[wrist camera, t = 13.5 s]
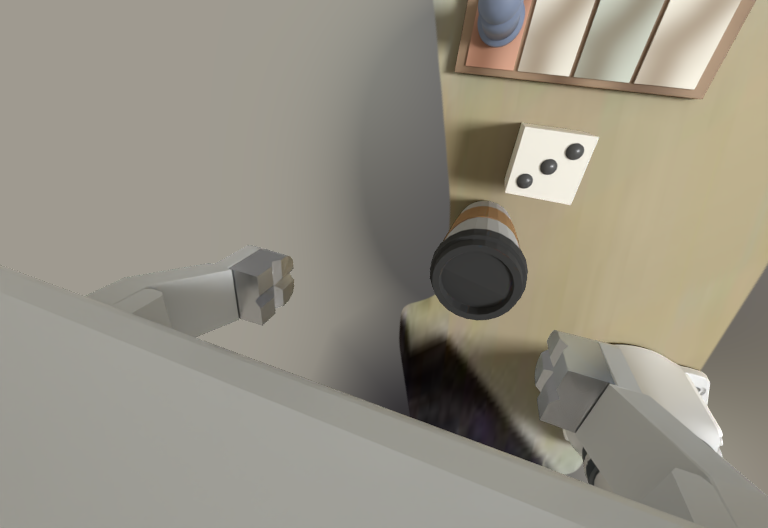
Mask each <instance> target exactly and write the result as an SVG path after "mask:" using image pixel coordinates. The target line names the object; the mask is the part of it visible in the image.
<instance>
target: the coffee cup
mask: <svg viewBox="0 0 768 528" xmlns="http://www.w3.org/2000/svg"><path fill="white" fill-rule="evenodd" d="M527 273H528V270H527V264H526V259H525V257H524V255H523V253H522V251H521V249H520V246H519V241H518V238H517V235H516V232H515V229H514V226H513V224H512V222H511V219H510V216H509V214H508V212H507V211H506V210H505V209H504V208H503V207H502V206H500V205H499V204H497V203H494V202H491V201H479V202H475V203H473V204H471V205H468V206H467V207H466V208H465V209H464V210H463V211H462V212H461V214H460V215H459V216H458V218H457V219H456V221H455V222H454V224H453V225H452V227H451V229H450V230H449V232H448V234H447V235H446V237H445V238H444V240H443V242H442V243H441V244H440V246H439V247H438V249H437V250H436V251H435V253H434V256H433V259H432V262H431V268H430V279H431V283H432V287H433V289H434V292H435V295H436V296H437V298H438V299H439V301H440V303H441V304H442V305H443V306H444V307H446V308H447V309H448V310H449V311H451V312H452V313H454V314H456V315H458V316H461V317H463V318H466V319H472V320H489V319H492V318H496V317H499V316H501V315H503V314H504V313H506V312H508V311H509V310H510V309H511V308H512V307H513V306H514V305H515V304H516V303H517V301H518V300H519V299H520V298H521V296H522V294H523V292H524V290H525V287H526V281H527Z"/></svg>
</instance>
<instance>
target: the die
mask: <svg viewBox="0 0 768 528" xmlns="http://www.w3.org/2000/svg"><path fill="white" fill-rule="evenodd" d="M598 139H599V137H597V136H595V135H592V134H589V133H587V132H584V131H578V130H571V129H564V128H557V127H550V126H542V125H535V124H528V123H521V126H520V129H519V133H518V136H517V139H516V143H515V146H514V149H513V153H512V156H511V159H510V163H509V166H508V169H507V173H506V176H505V179H504V180H505V193H510V194H515V195H521V196H526V197H531V198H536V199H542V200H547V201H552V202H558V203H563V204H568V205H571V203H572V201H573V198H574V196H575V194H576V191H577V189H578V187H579V184H580V182H581V179H582V177H583V175H584V172H585V170H586V168H587V165H588V163H589V160H590V158H591V156H592V153H593V151H594V149H595V146H596V144H597V141H598Z"/></svg>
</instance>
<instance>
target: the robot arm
mask: <svg viewBox="0 0 768 528" xmlns="http://www.w3.org/2000/svg"><path fill="white" fill-rule="evenodd" d="M292 269H293V260H292V258H291V257H290V256H287V255H284V254H280V253H277V252H273V251H270V250H267V249H263V248H260V247H256V246H252V245H247V246H246V247H244V248H242V249H240V250H238V251H237V252H235V253H233V254H231V255H229V256H228V257H226V258H224V259H222V260H220V261H219V262H217V263H215V264H211V263H208V264H201V265H196V266H190V267H184V268H178V269H172V270H167V271H162V272H155V273H149V274H143V275H138V276H132V277H127V278H123V279H120V280H118V281H116V282H114V283H112V284H110V285H108V286H105V287H103V288H101V289H99V290H97V291H95V292H93V293H90V294H88V295H86V296H83V295H80V294H77V293H75V292H72V291H69V290H66V289H64V288H61V287H58V286H56V285H53V284H50V283H47V282H45V281H42V280H40V279H37V278H34V277H32V276H29V275H26V274H24V273H21V272H18V271H15V270H13V269H10V268H7V267H5V266H2V265H0V528H768V496H767V495H766V494H765V493H763V492H762V491H761V490H760V489H759V488H757V487H756V486H755V485H754V484H753V483H751V481H749V480H748V479H747V478H746V477H745V476H743V475H742V474H741V473H740V472H739V471H738V470H736V469H735V468H734V467H733V466H732V465H731V464H729V463H728V462H727V461H726V460H724V459H723V457H722V453H721V450H720V448H719V446H722V445H723V440H722V438H721V437H722V436H723V434H722V431H721V429H720V427H719V425H718V424H717V422H716V420H715V419H714V417H713V415H712V414H711V412H710V410H709V409H708V407H707V403H708V395H709V388H710V382H709V380H708V378H707V376H706V375H705V374H704V373H702V372H701V371H698V370H695V369H692V368H688V367H684V366H680V365H677V364H675V363H674V362H672V361H670V360H669V359H667V358H666V357H664V356H662V355H661V354H658V353H656V352H654V351H651V350H649V349H645V348H642V347H637V346H631V345H613V344H609V343H605V342H600V341H596V340H591V339H588V338H584V337H580V336H576V335H572V334H568V333H564V332H560V331H556V330H554V331H553V332H552V333H551V334H550V336H549V338H548V340H547V343H548V350H546V351H544V352H542V353H541V354H540V357H539V359H538V361H537V365H536V369H535V386H536V387H537V388H538V390H539V391H540V394H539V396H538V398H537V403H538V411H539V419H540V420H541V421H544V422H546V423H549V424H552V425H555V426H557V427H560V428H562V429H563V433H564V437H565V439H566V440H567V441H569V442H570V443H571V445H572V447H573V448H574V449H575V450H576V451H577V452H578V453H579V455H580V456H581V457H582V459H583V463H584V471H585V475H586V478H587V480H588V483H589V484H588V483H585V482H582V481H580V480H577V479H575V478H572V477H569V476H567V475H564V474H561V473H558V472H556V471H553V470H550V469H548V468H545V467H542V466H540V465H537V464H534V463H532V462H529V461H526V460H524V459H521V458H518V457H515V456H513V455H510V454H507V453H505V452H502V451H499V450H497V449H494V448H491V447H489V446H486V445H483V444H481V443H478V442H475V441H472V440H470V439H467V438H464V437H462V436H459V435H456V434H454V433H451V432H448V431H446V430H443V429H440V428H438V427H435V426H432V425H429V424H427V423H424V422H421V421H419V420H416V419H413V418H411V417H408V416H405V415H403V414H400V413H397V412H395V411H391V410H389V409H386V408H384V407H381V406H378V405H376V404H373V403H370V402H368V401H365V400H362V399H360V398H357V397H354V396H351V395H349V394H346V393H344V392H341V391H338V390H335V389H333V388H330V387H328V386H325V385H322V384H319V383H317V382H314V381H311V380H309V379H306V378H303V377H301V376H298V375H295V374H293V373H290V372H287V371H284V370H282V369H279V368H276V367H274V366H271V365H268V364H265V363H263V362H260V361H257V360H255V359H252V358H249V357H246V356H244V355H241V354H238V353H236V352H233V351H230V350H227V349H225V348H222V347H219V346H217V345H214V344H211V343H209V342H206V341H203V340H201V339H198V338H196V337H198V336H200V335H203V334H205V333H208V332H210V331H212V330H215V329H217V328H220V327H222V326H225V325H227V324H230V323H232V322H234V321H237V320H239V318H240V319H243V320H246V321H250V322H253V323H256V324H259V325H263V324H264V323H265V322H267V321H268V320H269V319H270V318H271V317H272V316H273V315H274V314H275V308H277V307H281V306H284V305H285V304H286V303H287V302H288V301H289V299H290V297H291V295H292V293H293V289H294V279H293V278H292V276H291V275H290V272H291V271H292Z"/></svg>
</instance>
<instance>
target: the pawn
mask: <svg viewBox="0 0 768 528" xmlns="http://www.w3.org/2000/svg"><path fill="white" fill-rule="evenodd" d="M523 2H524V0H478V13H479V16H478V22H477V26H478V32H479V35H480V37H481V39H482V41H483V42H484V43H485V44H486V45H488V46H490V47H496V48H497V47H503V46H505V45H507V44H509V43H510V42H512V41H513V40H514V39H515V38H516V36H517V35H518V34H519V32H520V30H521V28H522V25H523V22H524V18H525V6H524V3H523Z"/></svg>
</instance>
